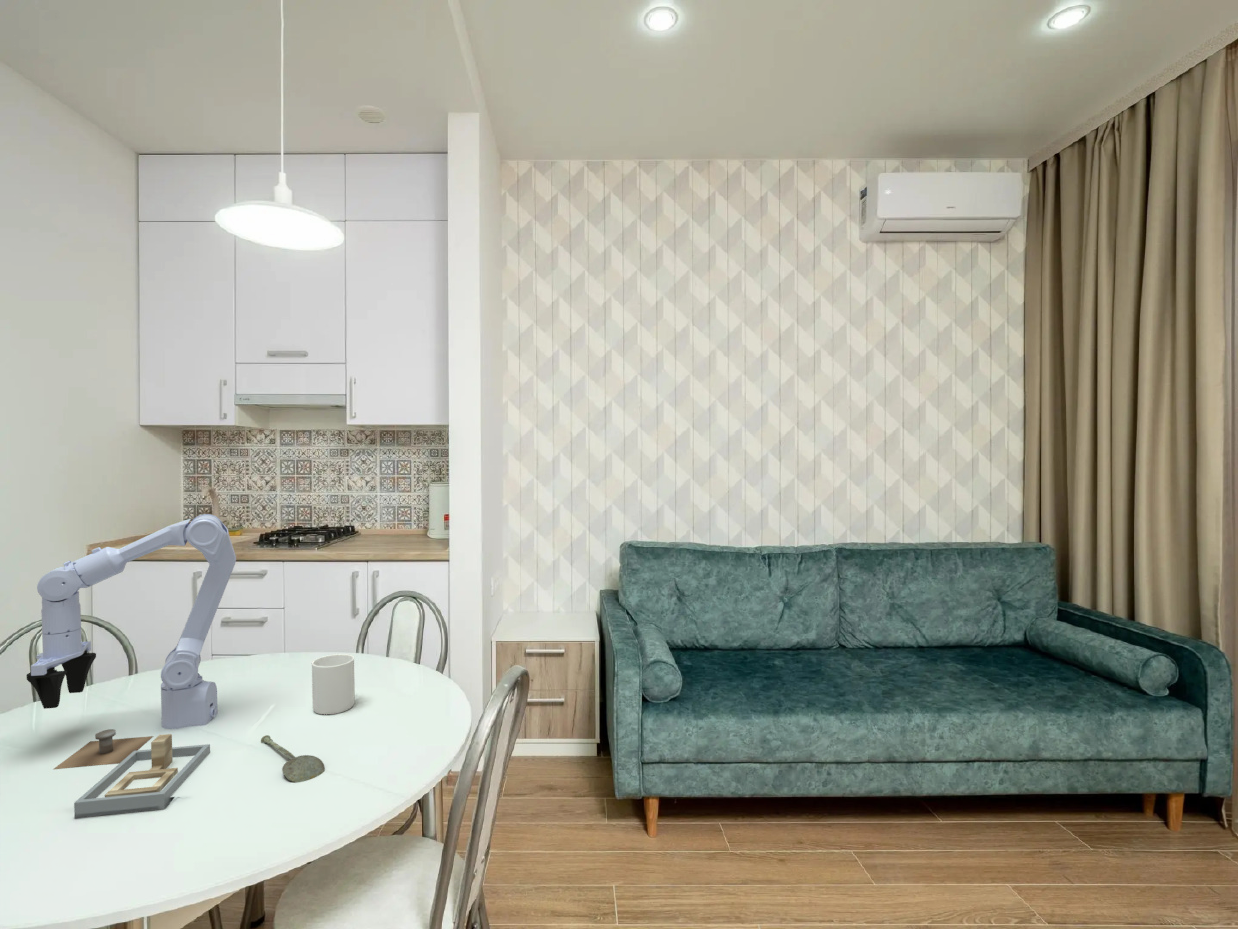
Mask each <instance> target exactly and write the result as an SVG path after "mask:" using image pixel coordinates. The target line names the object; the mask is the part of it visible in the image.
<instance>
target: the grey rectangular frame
mask: <svg viewBox="0 0 1238 929" xmlns="http://www.w3.org/2000/svg"><path fill="white" fill-rule="evenodd" d="M210 753H211V744H210V743H207V744H197V745H196V744H195V745H184V746H172V758H182V757H191V756H193V757H192V758H191V759H190V760H189V761H188V762H187V763H186V764H185V765H184V767H183V768H182V769H181V770H179V771H178V773H177V774H176V775H175V776H174V777H173V778H172V779H171V780H170V781H169V782H168V783H167V784H166V785H165V787H164V788H163V789H162V790H161V791H160V792H154V793H144V794H134V795H124V796H114V797H105V796H103V797H99V796H100V795H101V794H102V793H103V792H104V791H105V790H107V789H108V787H109V786H111V785H112V783H113V784H114V782H115V781H116V780H117V779H118V778H119V777H121V776H122V775H123V774H124V773H125V772H127V770H128V769H130V768H131V767H132V766H133V765H134V764H135V763H136V762H137V761H149V760H152V758H151V748H149V749H139V750H137V751H133V752H132V753H131V754H130V755H129V756H128V757H126V758H125V759H124V760H123V761H122V762H121V763H119V764H117V765H115V767H114V768H113V769H111V770H110V771H108V773H107V774H105V775H104V776H103V777H102V778H101V779H99V780H98V781H97V783H95V784H94V785H93V786H92V787H90V789H89V790H87V791H86V792H84V794H82V795H81V796H80V797H79V798H78V799H77V800H76V801H74V802H73V807H74V808H73V809H74V811H73V813H74V819H83V818H92V817H103V816H110V815H120V814H129V813H131V814H132V813H139V812H140V813H141V812H147V811H148V812H149V811H150V812H151V811H159V810H165V809H166V808H167V807H168V806H169V805H170V804H171V802H172V801H174V799H175V798H176V796H172V795H173V794H174V793H175V792H176V791H177V790H178V789H179V787H180V786H181V785H182V784H183V783H185V781H187V779H188V778H189V776H191V774H192V773H193V772H194V771H195V770H196V768H197V767H198V766H199V765H200V764H201V763H203V761H204V760H205V759H206V758H207V756H209V754H210ZM171 796H172V797H171Z"/></svg>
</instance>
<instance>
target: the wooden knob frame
mask: <svg viewBox="0 0 1238 929" xmlns="http://www.w3.org/2000/svg"><path fill="white" fill-rule="evenodd" d="M172 747H173V734H172V733H167V734H166V733H165V734H159V735H157V736H156V737H155V738H154V739H153V740H151V742H150V749H151V758H152V759H151V767H150V769H148V770H138V771H129V772H128V773H127V774H126V775H125V776H124V777H123V778H121V779H120V780H119V781H118V782H117V783H116V784H115V785H114V786H112V788H110V790H108V791H107V792H106V793H105V794H104V797H114V796H124V795H134V794H144V793H154V792H161V791H162V790H163V789H164V788H165V787H166V786H167V785H168V784H169V783H170V782H171V780H172V779H173V778H174V777H175V776H176V775H177V774H178V773H179V769H178V767H173V768H172V767H171V768H168V767H169V766H170V765H171V764H172V763H173V757H172ZM156 778H158V780H157V781H156V782H155V783H154V784H152V786H145V787H137V788H136V787H135V788H127V787H128V786H129V785H131V783H132V782H133V781H136V780H144V779H145V780H146V779H156Z"/></svg>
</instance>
